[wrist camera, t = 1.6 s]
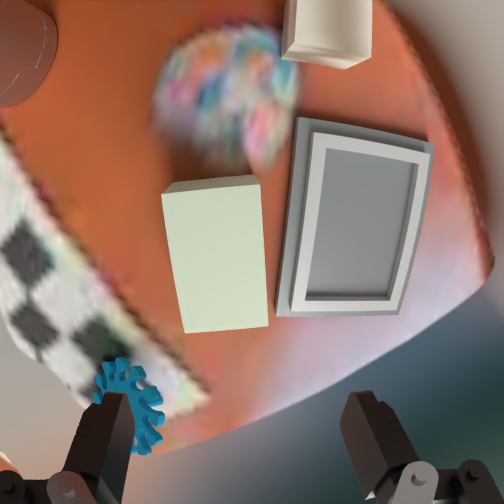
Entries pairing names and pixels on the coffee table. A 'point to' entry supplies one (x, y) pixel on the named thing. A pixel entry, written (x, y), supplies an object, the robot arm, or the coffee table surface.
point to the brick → (217, 252)
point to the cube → (327, 32)
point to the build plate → (351, 220)
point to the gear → (133, 401)
